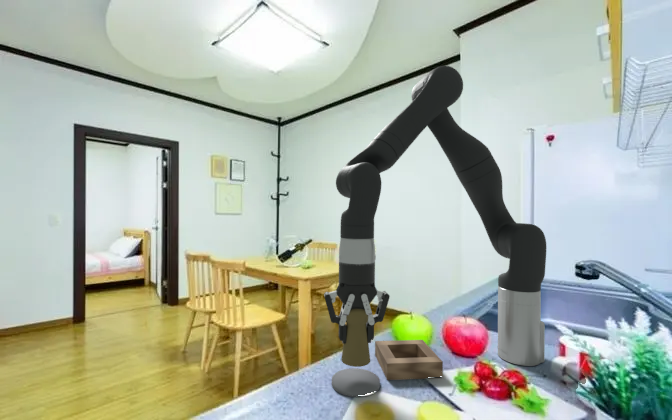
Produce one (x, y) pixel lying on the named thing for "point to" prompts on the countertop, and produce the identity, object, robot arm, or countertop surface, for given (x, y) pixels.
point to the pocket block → (407, 360)
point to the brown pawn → (356, 339)
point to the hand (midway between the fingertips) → (356, 341)
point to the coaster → (355, 382)
